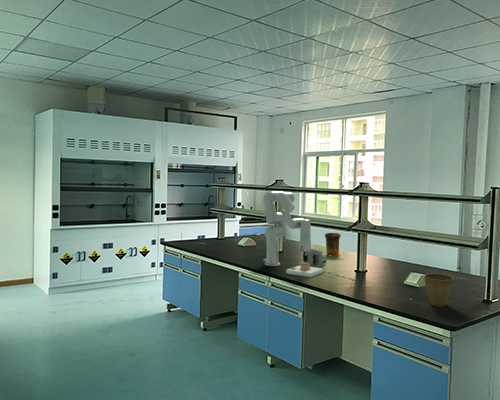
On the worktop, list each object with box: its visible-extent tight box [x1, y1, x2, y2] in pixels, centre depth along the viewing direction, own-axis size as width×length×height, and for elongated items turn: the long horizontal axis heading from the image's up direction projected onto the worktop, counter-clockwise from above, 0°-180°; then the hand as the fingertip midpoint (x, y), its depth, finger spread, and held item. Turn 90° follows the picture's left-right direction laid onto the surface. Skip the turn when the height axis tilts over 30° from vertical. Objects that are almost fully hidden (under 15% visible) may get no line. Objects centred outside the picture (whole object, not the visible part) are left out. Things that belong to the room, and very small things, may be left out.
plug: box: [300, 262, 311, 271], centre depth 314 cm, size 5×5×7 cm
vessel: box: [324, 232, 342, 257], centre depth 386 cm, size 14×14×20 cm
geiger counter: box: [305, 248, 328, 269], centre depth 338 cm, size 14×6×25 cm
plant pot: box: [424, 273, 454, 307], centre depth 236 cm, size 15×15×16 cm
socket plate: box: [286, 264, 324, 278], centre depth 314 cm, size 20×20×4 cm
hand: (305, 260), depth 314 cm, fingers closed
